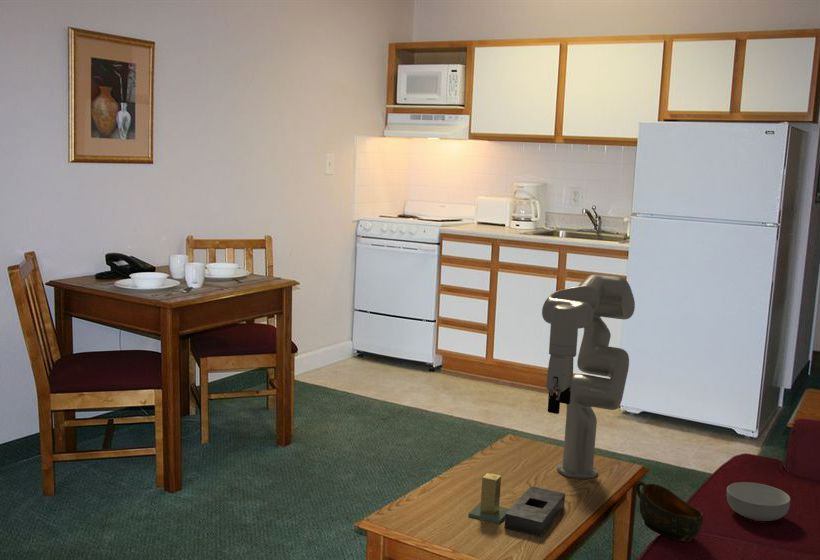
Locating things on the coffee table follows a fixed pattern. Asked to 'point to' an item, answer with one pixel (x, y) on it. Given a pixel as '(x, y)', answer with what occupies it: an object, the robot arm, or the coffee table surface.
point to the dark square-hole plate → (535, 511)
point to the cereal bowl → (758, 501)
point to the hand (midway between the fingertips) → (558, 408)
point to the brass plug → (490, 493)
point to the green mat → (492, 518)
